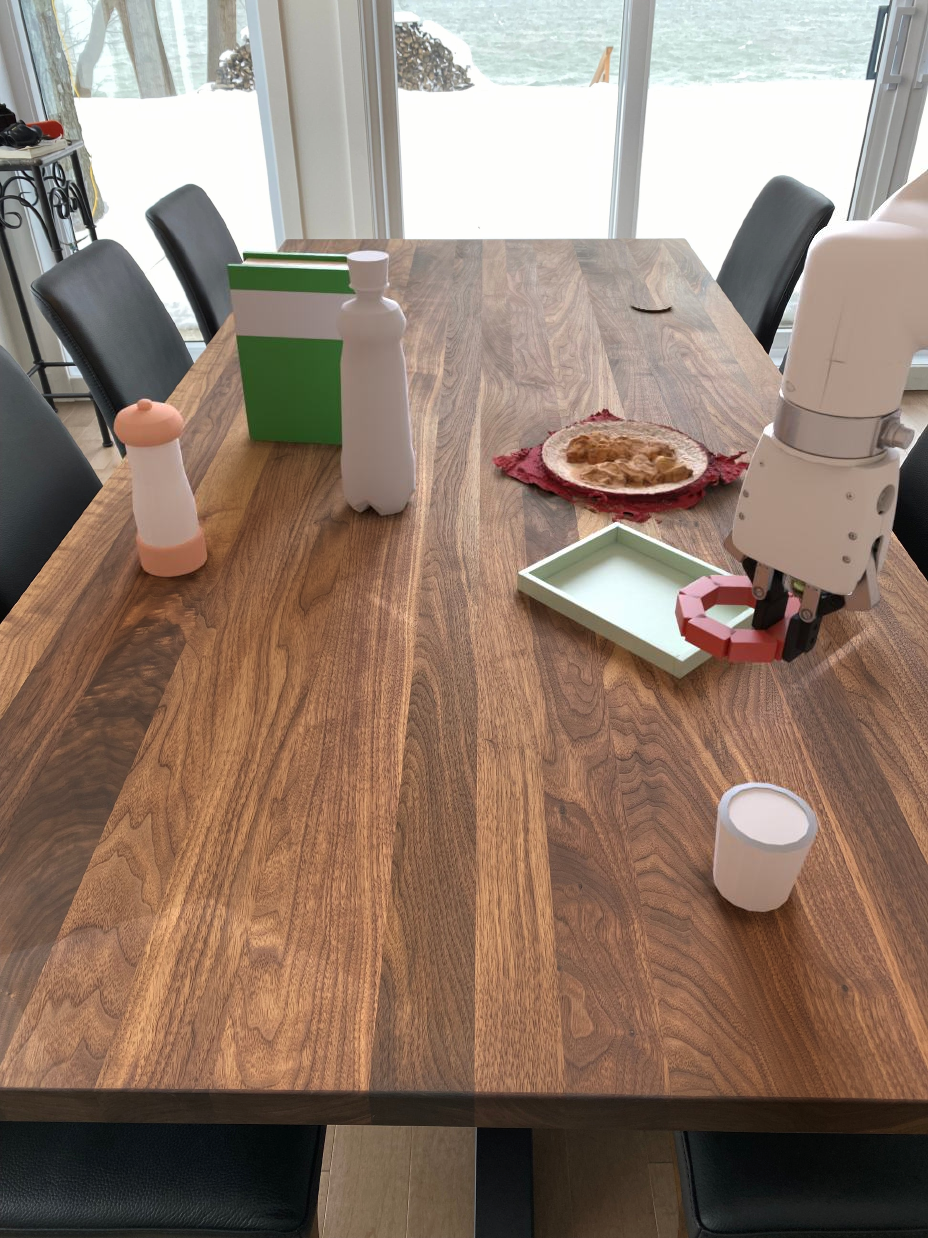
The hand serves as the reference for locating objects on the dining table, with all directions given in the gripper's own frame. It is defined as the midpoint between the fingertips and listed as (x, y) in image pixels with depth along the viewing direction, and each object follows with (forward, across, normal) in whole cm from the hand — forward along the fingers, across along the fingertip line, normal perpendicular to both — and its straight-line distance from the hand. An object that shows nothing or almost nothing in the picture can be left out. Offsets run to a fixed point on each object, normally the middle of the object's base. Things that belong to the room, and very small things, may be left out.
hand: (780, 645), depth 75 cm
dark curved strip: (+13, +88, -99) cm, 133 cm away
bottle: (+14, +59, -8) cm, 61 cm away
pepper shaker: (+14, +64, +18) cm, 68 cm away
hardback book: (+14, +82, -15) cm, 85 cm away
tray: (+13, +22, -14) cm, 29 cm away
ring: (0, +4, 0) cm, 4 cm away
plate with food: (+13, +44, -37) cm, 59 cm away
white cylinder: (+13, -7, +10) cm, 18 cm away
